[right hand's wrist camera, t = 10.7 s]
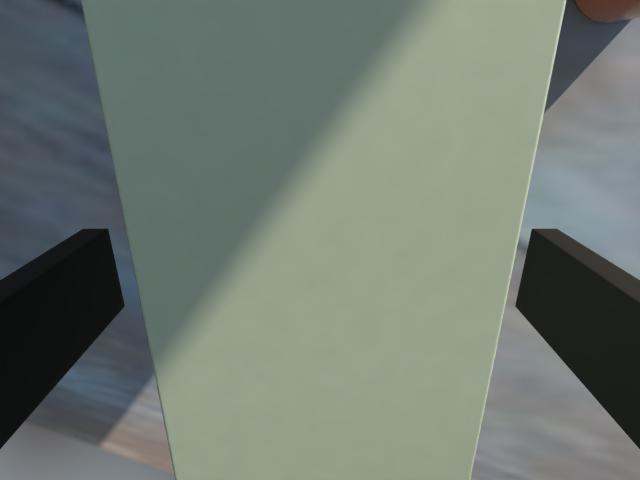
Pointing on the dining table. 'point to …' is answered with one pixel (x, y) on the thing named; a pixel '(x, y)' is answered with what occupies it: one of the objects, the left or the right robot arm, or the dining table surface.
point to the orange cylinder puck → (610, 9)
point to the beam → (323, 220)
